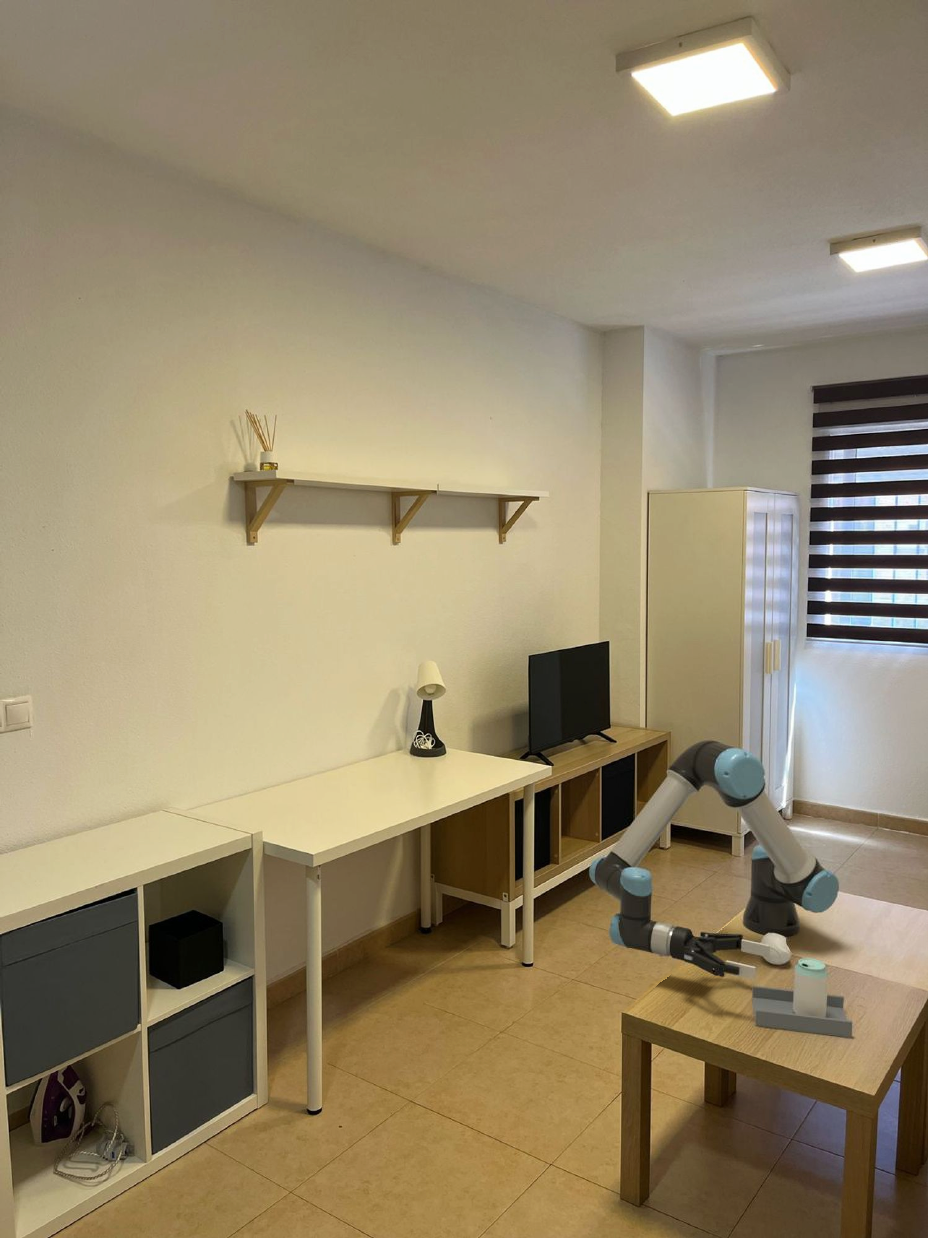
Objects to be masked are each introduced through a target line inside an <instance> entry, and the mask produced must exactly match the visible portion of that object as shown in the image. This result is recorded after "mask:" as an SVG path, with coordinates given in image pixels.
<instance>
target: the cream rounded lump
mask: <svg viewBox="0 0 928 1238" xmlns="http://www.w3.org/2000/svg"><path fill="white" fill-rule="evenodd" d="M760 943H762V944H766V945H770V956H769V957H764V956H762V957H763V959H764V960H765V961H766V962H768V963H770V964H772V965H776V966H777V965H783V964H786V963H788V962H789V961H790V959H791V957H792V955H793V954H792V951H791V950H790V948H789V946H788V945H787V937H786V936H782V935H779V934H776V933H767V934H766V935H765V934H764V935H763V936H762V938H761V940H760Z"/></svg>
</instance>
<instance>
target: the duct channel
mask: <svg viewBox="0 0 928 1238" xmlns="http://www.w3.org/2000/svg"><path fill="white" fill-rule="evenodd" d="M751 989H752V991H751V992H752V993H751V1002H752V1010H753V1015H754V1022H755V1023H754V1025H755V1027H763V1028H771V1029H777V1030H785V1029H786V1031H794V1032H801V1033H810V1034H817V1035H823V1036H824V1035H826V1036H832V1037H833V1036H834V1037H839V1038H841V1037H842V1038H848V1039H852V1038H853V1036H852V1035H853V1020H848V1019H847V1015H846V1012H845V1009H844V1003H845V1002H844V1001H845V999H844V998H845V997H844V996H843V995H838V994H830V993H827V1006H826V1017H818V1016H809V1015H801V1014H795V1012H794V1011H793V996H794V989H787V988H779V987H770V986H769V987H768V986H761V985H752V988H751Z"/></svg>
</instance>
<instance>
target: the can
mask: <svg viewBox="0 0 928 1238" xmlns="http://www.w3.org/2000/svg"><path fill="white" fill-rule="evenodd" d="M793 977H794V978H793V979H794V980H793V990H794V996H793V1011H794V1012H795V1014H801V1015H809V1016H818V1017H826V1006H827V994H828V982H829V981H828V980H829V972H828V970H827V968H826V964H825V963H824V962H822V961H821V960H818V959H815V958H810V957H809V958H806V957H805V958H804V957H803V958H800V959H798V962H797V964H796V965H795V966H794V976H793Z"/></svg>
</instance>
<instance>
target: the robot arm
mask: <svg viewBox="0 0 928 1238" xmlns="http://www.w3.org/2000/svg"><path fill="white" fill-rule="evenodd" d="M764 776H766V771H765V768H764V765H763V763H762V762H761V760H760V759H759V758H758V757H757V756H756V755H754V754H753V753H751V752H750V751H748V750H745V749H742V748H739V747H735V746H731V745H727V744H724V743H721V742H719V741H716V740H713V739H709V740H708V739H707V740H700V741H698V742H695V743H694V744H692V745H691V746H689V747H688V748H686V749H685V750H684V751H682V752H681V754H679V756H678V757H676V759H675V760H674V761H673V763H672V764H670V766H669V767H668V769H666V778H665V779H664V780H663V781H662V783H661V784H660V786H658V788H657V789H656V791H655V792H654V793H653V795H652V796H651V797H650V799H649V800H648V801H647V802H646V804H645V805H644V807H643V808H642V810H640V812H639V814H638V815H637V816H636V817H635V818H634V820H633V821H632V823H631V824H630V825H629V826H628V828H627V829H625V832H624V833H622V834H623V835H622V836H621V837H620V839H619V840H618V841H617V842H616V844H615V845H614V846H613V847H612V849H611V850H610V852H609V853H608V854H607V855H606V856H599V857H597V858H595V859H594V860H593V861H592V862H591V864H590V866H589V869H588V870H589V871H588V873H589V878H590V880H591V881H592V883H594V884H595V885H596V886H597V887H598V888H599V889H600V890H603V891H604V892H606V893H608V894H609V895H610V896H612V897H613V898H614V899H616V900H618V901H619V902H620V903H619V904H620V905H619V906H620V907H619V909H620V910H619V911H620V912H619V913H615V914H613V916H612V918H611V921H610V926H609V933H608V934H609V938H610V941H611V942H612V943H613V944H615V945H619V946H621V947H625V948H627V949H633V950H638V951H642V952H647V953H651V954H655V955H658V956H659V957H666V958H667V957H668V958H669V957H671V958H672V959H676V960H678V961H683V962H685V963H688V964H691V965H694V966H696V967H698V968H700V969H702V970H703V971H706V972H707V973H710V974H711V975H713V976H716V977H721V978H722V977H723V978H724V977H725V974H729V975H732V976H737V977H741V978H744V979H749V980H753V981H754V980H756V968H757V967H756V966H752V965H749V964H744V963H740V962H736V961H731V960H725V961H724V960H722V958H720V957H718V956H717V955H716V953H717V952H719V951H731V950H732V951H733V950H740V951H741V952H743V953H747V954H752V955H757V956H761V957H763V956H764V957H769V956H770V945H766V944H762V943H761V942H758V941H757V942H756V941H752V940H748V939H744V937H743V936H744V935H743V934H740V933H738V934H736V933H713V932H706V931H700V936H694V933H693V931H692V930H691V929H690V928H687V927H683V926H679V925H677V926H675V925H673V924H670V923H666V922H661V921H660V922H659V921H656V920H653V919H652V895H653V885H652V884H653V883H652V881H653V879H652V874H651V872H650V871H649V870H647V869H646V868H642V867H638V866H639V864H640V862H641V861H642V860H643V859H644V857H645V856H646V855H647V854H648V852H649V851H650V849H651V848H652V847H653V845H655V843H656V842H657V840H658V839H659V838H660V836H661V835H662V834H663V832H664V831H665V829H666V828H667V827H668V826H669V824H670V823H671V822H672V821H673V819H674V818H675V816H676V815H677V813H678V812H679V811H680V809H681V808H682V807H683V806H684V805H685V803H686V802H687V800H688V799H689V797H690V796H692V795H695V794H697V793H699V791H700V790H701V788H702V787H704V786H707V787H710V788H712V789H713V790H715V792H717V794H718V796H719V798H721V800H722V801H723V803H724V804H725V806H727V807H728V808H730V809H731V808H732V809H735V810H736V811H737V812H738V815H740V817H741V818H742V820H743V821H744V823H745V824H746V826H747V828H748V829H749V830H750V831H751V833H752V834H753V836H754V837H755V839H756V841H757V842H758V843H759V844H757V845H755V846H754V847H753V849H752V855H751V870H750V871H751V873H750V896H749V898H748V902H747V904H746V907H745V909H744V911H743V914H742V923H743V926H745V927H746V928H747V929H749V930H750V931H752V932H755V933H758V934H762V935H764V936H765V935H766V934H767V933H776V934H779V935H782V936H784V937H789V936H793V935H795V934H798V933H799V931H800V924H801V923H800V918H799V914H798V911H797V907H796V905H797V906H799V907H800V908H802V909H804V910H805V911H809V912H811V913H815V914H819V913H824V912H825V911H827V910H828V909H830V908H831V907H832V906H833V905H834V904H835V902H836V899H837V897H838V893H839V890H840V882H839V879H838V876H836V874H834V872H832V871H831V870H829V869H825V868H824V867H823V866H822V865H821V863H820V861H818V858H816V856H815V854H814V853H813V852H812V851H810V850H808V849H805V848H803V847H802V846H801V844H800V843H799V841H798V840H797V838H796V836H795V835H794V833H793V831H792V829H790V827H789V826H788V824H787V823H786V821H785V819H783V817H782V816H781V814H780V812H779V811H778V808H776V806H775V805H774V803H773V801H772V800H771V799H770V797H769V796H768V795H767V793H766V791H765V790H766V779H765V778H764ZM764 957H763V958H764Z"/></svg>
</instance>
